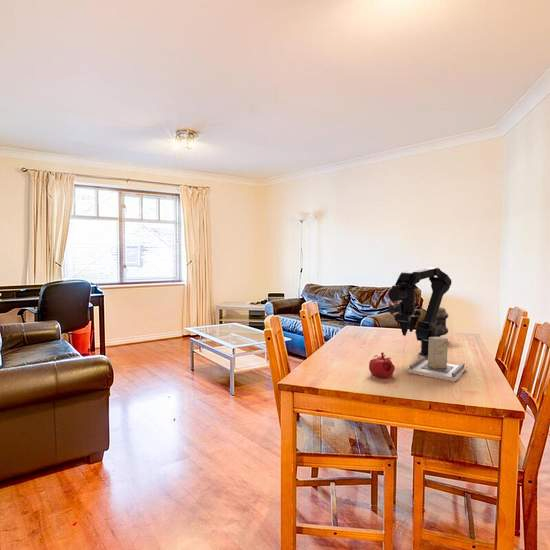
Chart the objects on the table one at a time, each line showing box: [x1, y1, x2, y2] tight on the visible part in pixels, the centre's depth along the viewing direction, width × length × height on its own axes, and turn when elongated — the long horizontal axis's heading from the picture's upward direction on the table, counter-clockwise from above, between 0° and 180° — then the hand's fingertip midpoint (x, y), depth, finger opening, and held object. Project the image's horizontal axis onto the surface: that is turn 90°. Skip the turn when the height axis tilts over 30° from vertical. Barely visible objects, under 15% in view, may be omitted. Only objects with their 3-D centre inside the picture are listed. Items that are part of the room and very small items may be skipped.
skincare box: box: [427, 336, 449, 369], centre depth 161 cm, size 6×4×12 cm
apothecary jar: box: [424, 306, 449, 337], centre depth 215 cm, size 12×12×18 cm
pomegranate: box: [368, 351, 396, 379], centre depth 155 cm, size 10×10×9 cm
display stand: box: [407, 355, 467, 382], centre depth 161 cm, size 18×18×3 cm
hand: (407, 333), depth 177 cm, fingers open, 9 cm apart
